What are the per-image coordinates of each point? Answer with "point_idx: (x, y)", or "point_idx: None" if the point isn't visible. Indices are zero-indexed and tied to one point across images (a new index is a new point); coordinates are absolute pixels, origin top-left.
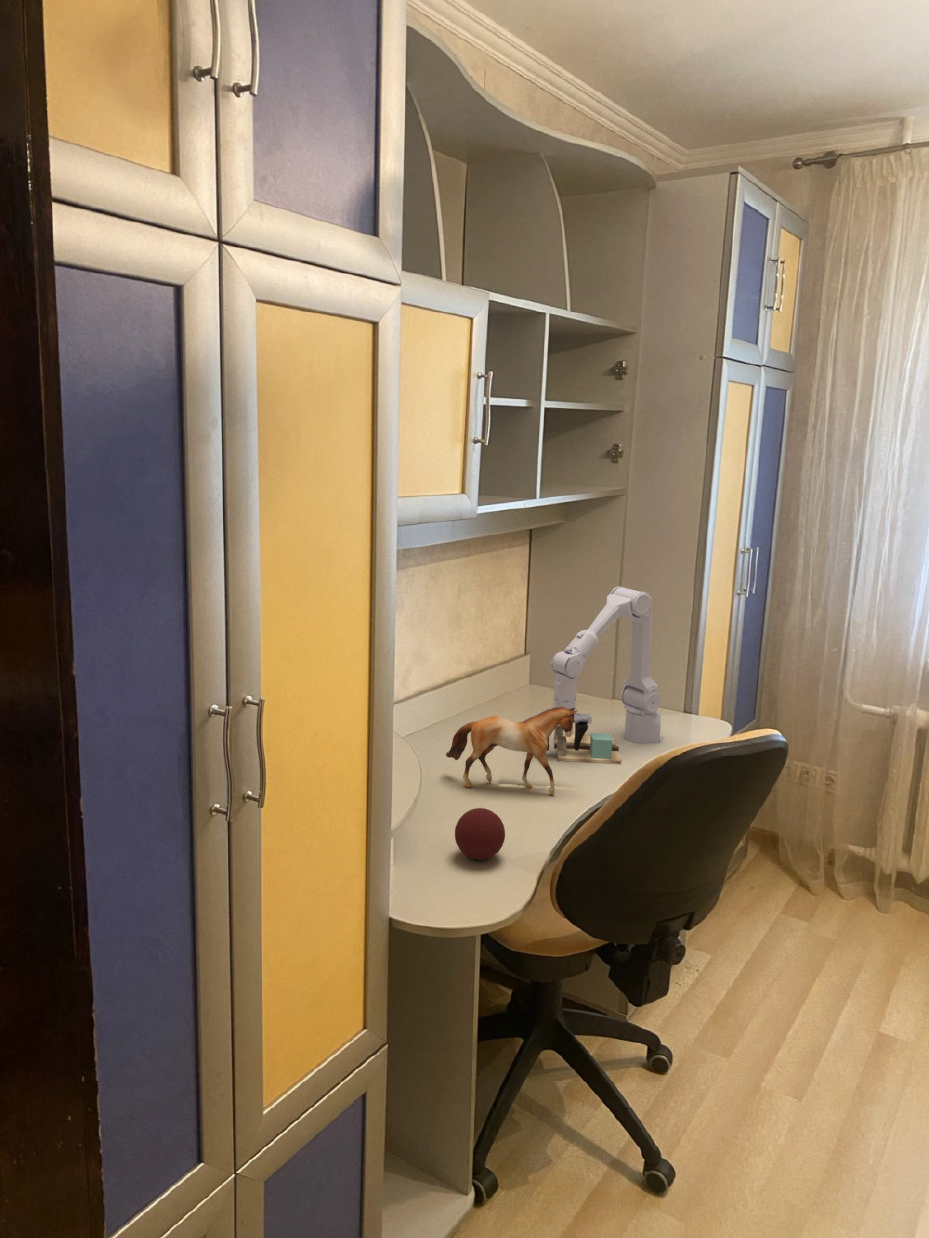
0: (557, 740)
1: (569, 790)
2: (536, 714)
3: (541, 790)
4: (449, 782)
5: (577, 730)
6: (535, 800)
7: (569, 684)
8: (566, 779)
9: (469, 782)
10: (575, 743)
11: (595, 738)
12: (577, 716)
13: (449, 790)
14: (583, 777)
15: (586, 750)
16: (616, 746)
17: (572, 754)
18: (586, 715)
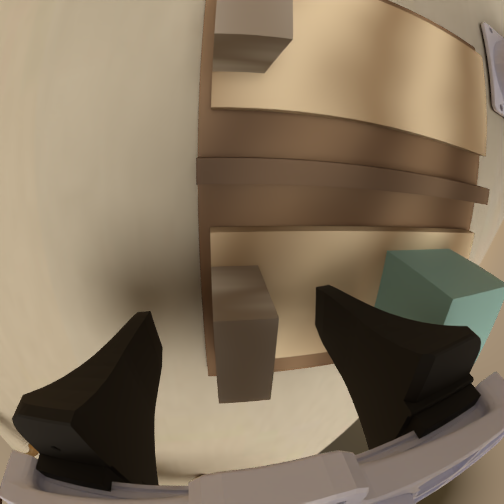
0: (228, 80)
1: (242, 462)
2: (10, 499)
3: (176, 467)
4: (3, 423)
5: (370, 408)
6: (172, 485)
7: None
8: (240, 430)
9: (37, 453)
10: (329, 330)
11: None
12: (421, 487)
13: (23, 445)
14: (295, 412)
15: (376, 242)
16: (484, 192)
17: (293, 312)
18: (490, 446)
